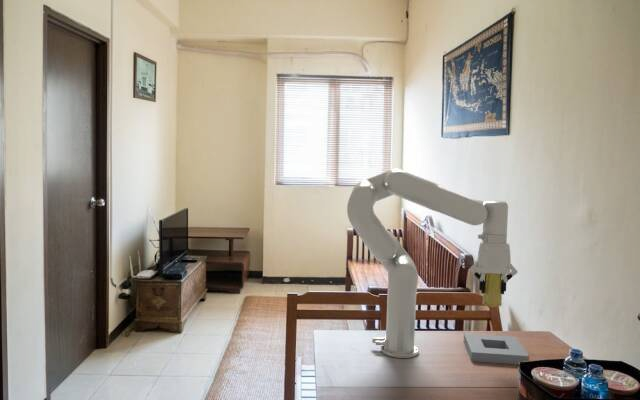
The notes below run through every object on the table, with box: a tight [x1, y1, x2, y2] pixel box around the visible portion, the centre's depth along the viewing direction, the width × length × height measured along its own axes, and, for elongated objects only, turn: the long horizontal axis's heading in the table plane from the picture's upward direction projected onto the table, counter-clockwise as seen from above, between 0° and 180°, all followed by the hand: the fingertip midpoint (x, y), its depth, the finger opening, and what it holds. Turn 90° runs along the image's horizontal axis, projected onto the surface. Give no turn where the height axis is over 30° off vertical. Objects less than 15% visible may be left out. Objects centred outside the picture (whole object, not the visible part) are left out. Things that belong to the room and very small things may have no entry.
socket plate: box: [463, 333, 530, 365], centre depth 187 cm, size 18×18×3 cm
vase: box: [481, 274, 503, 308], centre depth 181 cm, size 6×6×14 cm
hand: (492, 292), depth 181 cm, fingers closed on vase, 5 cm apart
